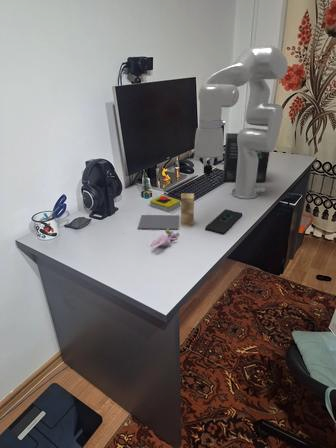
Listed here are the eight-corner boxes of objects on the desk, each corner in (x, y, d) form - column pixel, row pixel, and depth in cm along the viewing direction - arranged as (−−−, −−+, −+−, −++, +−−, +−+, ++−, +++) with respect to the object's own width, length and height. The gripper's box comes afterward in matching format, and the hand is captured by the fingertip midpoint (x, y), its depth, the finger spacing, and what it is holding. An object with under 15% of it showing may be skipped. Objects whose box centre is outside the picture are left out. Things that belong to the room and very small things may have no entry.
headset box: (262, 176, 177) (268, 129, 165) (266, 183, 166) (272, 134, 154) (222, 175, 179) (225, 129, 167) (223, 182, 168) (227, 134, 157)
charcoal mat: (179, 216, 131) (179, 215, 131) (178, 230, 121) (178, 228, 120) (141, 216, 132) (141, 214, 132) (137, 229, 122) (137, 228, 121)
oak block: (193, 220, 128) (193, 193, 122) (193, 226, 123) (194, 198, 118) (181, 220, 128) (181, 193, 123) (181, 225, 124) (181, 198, 118)
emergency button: (159, 191, 147) (185, 199, 139) (159, 200, 149) (185, 207, 141) (146, 197, 141) (172, 205, 132) (146, 206, 143) (172, 214, 134)
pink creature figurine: (168, 236, 119) (146, 249, 107) (169, 222, 117) (146, 233, 105) (182, 240, 116) (161, 254, 104) (183, 225, 114) (162, 237, 102)
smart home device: (243, 212, 131) (224, 232, 116) (242, 216, 131) (223, 236, 117) (225, 208, 135) (204, 227, 120) (224, 212, 136) (204, 231, 121)
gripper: (230, 122, 110) (226, 172, 119) (188, 122, 111) (187, 172, 120) (232, 126, 104) (228, 178, 112) (188, 126, 105) (187, 178, 113)
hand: (207, 175), depth 116 cm, fingers closed
